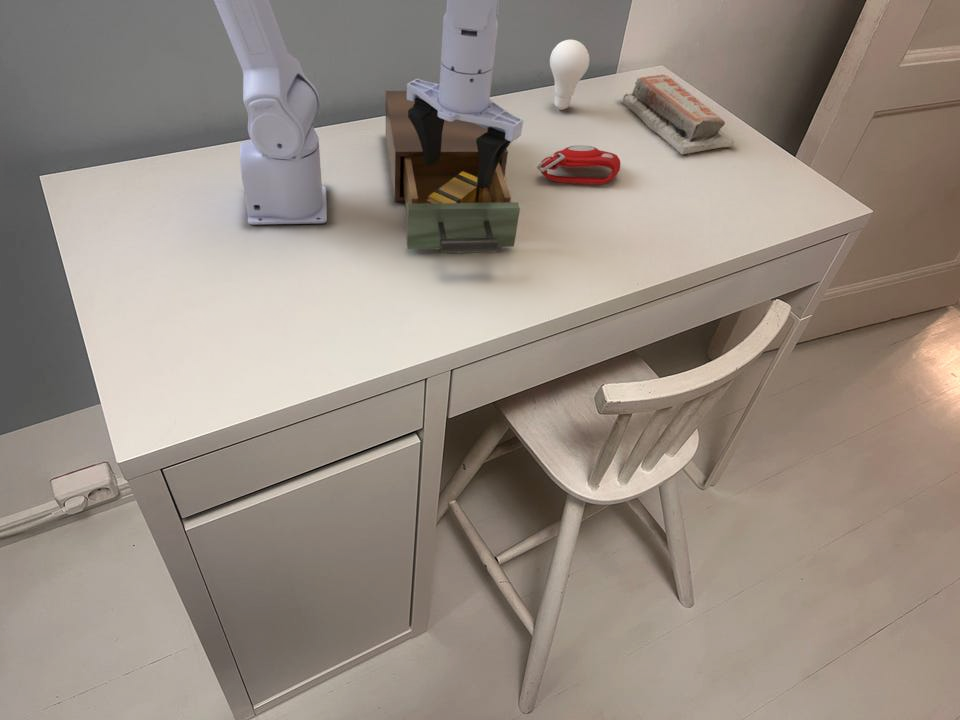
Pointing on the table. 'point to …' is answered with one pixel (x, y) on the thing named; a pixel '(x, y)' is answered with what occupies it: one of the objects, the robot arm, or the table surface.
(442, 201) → the pencil bundle
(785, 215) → the table surface
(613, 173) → the tracker holder
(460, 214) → the drawer
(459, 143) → the cabinet
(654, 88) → the packaged product
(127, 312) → the table surface
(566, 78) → the lightbulb
